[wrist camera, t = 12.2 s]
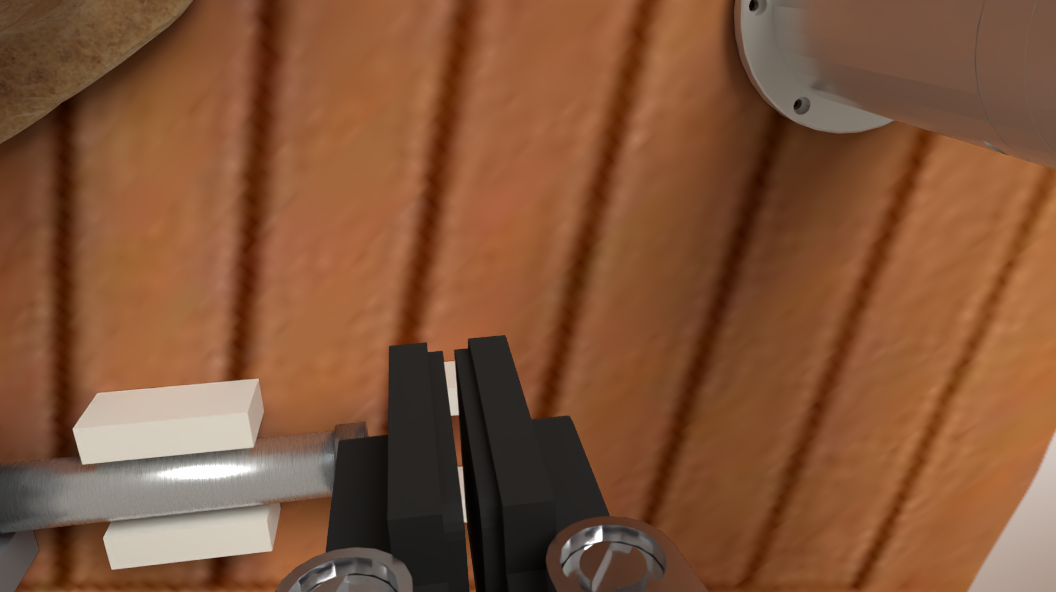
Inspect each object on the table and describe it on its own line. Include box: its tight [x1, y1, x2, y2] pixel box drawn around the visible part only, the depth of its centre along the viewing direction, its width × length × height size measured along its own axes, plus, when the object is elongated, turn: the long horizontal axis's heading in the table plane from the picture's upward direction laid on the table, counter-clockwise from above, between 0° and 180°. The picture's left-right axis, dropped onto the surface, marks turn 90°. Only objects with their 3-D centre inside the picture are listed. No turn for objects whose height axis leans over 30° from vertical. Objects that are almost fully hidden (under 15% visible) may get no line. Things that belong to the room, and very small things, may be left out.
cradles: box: [73, 361, 467, 570], centre depth 43 cm, size 20×8×4 cm, turn 91°
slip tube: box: [0, 422, 369, 533], centre depth 41 cm, size 24×4×4 cm, turn 91°
